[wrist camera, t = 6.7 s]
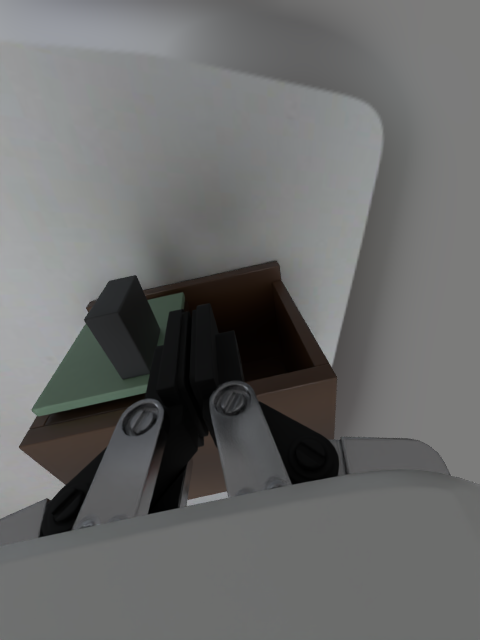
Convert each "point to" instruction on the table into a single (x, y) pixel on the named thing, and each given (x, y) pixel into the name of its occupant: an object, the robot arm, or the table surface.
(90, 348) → the sliding door
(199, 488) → the cupboard
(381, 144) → the table surface
